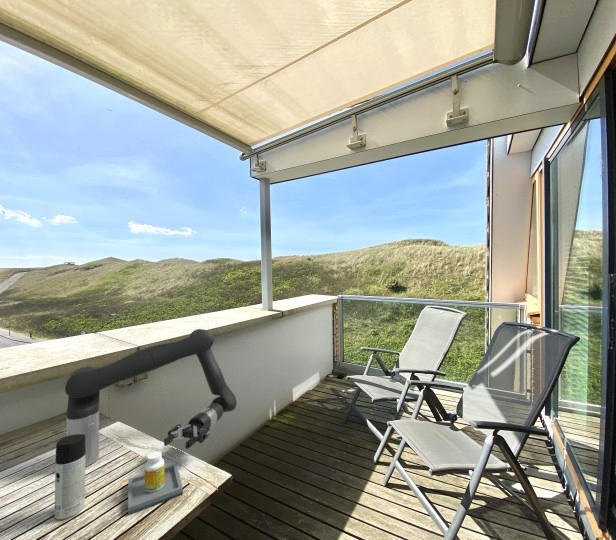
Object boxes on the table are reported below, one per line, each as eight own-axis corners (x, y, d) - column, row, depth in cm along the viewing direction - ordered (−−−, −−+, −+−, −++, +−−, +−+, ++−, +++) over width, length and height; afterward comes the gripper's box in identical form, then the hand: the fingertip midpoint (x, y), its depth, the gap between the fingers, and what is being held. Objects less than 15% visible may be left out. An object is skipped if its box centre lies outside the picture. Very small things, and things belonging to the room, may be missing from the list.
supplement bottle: (156, 494, 87) (155, 461, 87) (140, 491, 88) (140, 459, 88) (168, 481, 92) (167, 450, 92) (153, 479, 93) (153, 449, 93)
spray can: (66, 502, 85) (66, 433, 86) (90, 500, 86) (91, 432, 86) (47, 521, 78) (48, 446, 79) (74, 519, 79) (74, 445, 79)
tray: (128, 515, 80) (128, 508, 80) (128, 485, 92) (128, 478, 92) (182, 494, 87) (182, 487, 87) (176, 469, 99) (176, 463, 99)
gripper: (187, 410, 117) (157, 431, 101) (219, 413, 113) (193, 435, 97) (187, 429, 116) (158, 453, 101) (219, 432, 113) (193, 458, 97)
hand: (175, 444), depth 99 cm, fingers open, 8 cm apart
